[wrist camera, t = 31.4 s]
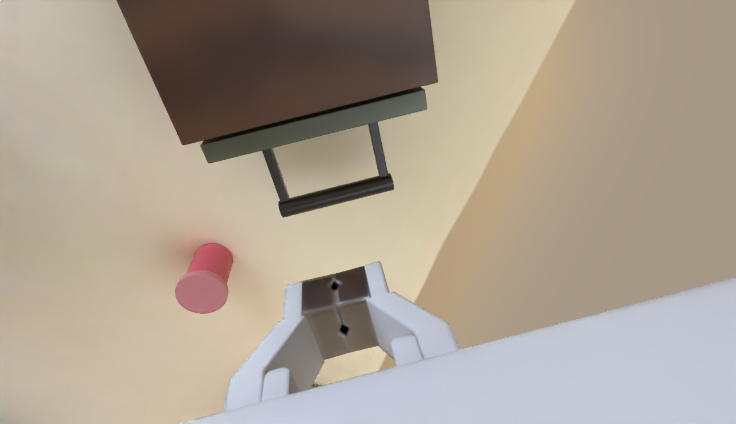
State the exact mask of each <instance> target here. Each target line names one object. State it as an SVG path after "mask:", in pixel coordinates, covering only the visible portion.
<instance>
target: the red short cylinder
mask: <svg viewBox="0 0 736 424" xmlns="http://www.w3.org/2000/svg"><path fill="white" fill-rule="evenodd" d="M232 263H233V256H232V254H231V252H230V251H229V250H228V249H227V248H226V247H224V246H222V245H220V244H214V243H211V244H206V245H203V246H201V247H200V248H199V249H198V250H197V251H196V253H195V256H194V258H193V260H192V263H191V265H190V267H189V269H188V272H187V274H186V275H184V276H183V277H182V278H181V279H180V280H179V282H178V284H177V286H176V290H175V295H176V299H177V301H178V302H179V303H180V305H181V306H183V307H184V308H185V309H187V310H189V311H191V312H195V313H201V314H205V313H211V312H214V311H216V310H218V309H220V308H221V307H222V306H223V305H224V304H225V302H226V300H227V296H228V287H227V281H228V278H229V274H230V271H231V267H232Z"/></svg>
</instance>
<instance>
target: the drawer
mask: <svg viewBox="0 0 736 424" xmlns="http://www.w3.org/2000/svg"><path fill="white" fill-rule="evenodd" d="M426 109H427V103H426V96H425V90H424V89H423V88H421V87H417V88H413V89H409V90H405V91H401V92H397V93H393V94H389V95H385V96H381V97H377V98H373V99H369V100H365V101H361V102H357V103H353V104H349V105H345V106H340V107H336V108H332V109H328V110H324V111H320V112H316V113H312V114H308V115H304V116H300V117H296V118H292V119H288V120H284V121H280V122H276V123H272V124H268V125H264V126H260V127H256V128H252V129H248V130H244V131H240V132H236V133H231V134H227V135H223V136H219V137H215V138H211V139H207V140H204V141H203V142H202V144H201V148H202V150H203V153H204V155H205V157H206V160H207V162H208V163H214V162H218V161H222V160H226V159H230V158H234V157H238V156H242V155H246V154H250V153H254V152H258V151H263V154H264V157H265V160H266V163H267V165H268V168H269V171H270V174H271V177H272V179H273V182H274V185H275V188H276V191H277V193H278V196H279V199H280V201H279V203H278V205H279V210H280V213H281V215H282V217H288V216H292V215H296V214H300V213H304V212H308V211H312V210H316V209H320V208H324V207H327V206H331V205H335V204H339V203H343V202H347V201H351V200H355V199H359V198H363V197H367V196H371V195H375V194H379V193H383V192H387V191H391V190H394V184H393V180H392V177H391V174H390V173H388V171H387V166H386V162H385V157H384V152H383V147H382V142H381V137H380V132H379V127H378V121H382V120H386V119H390V118H394V117H398V116H402V115H406V114H410V113H414V112H418V111H422V110H426ZM366 124H368V127H369V132H370V136H371V141H372V146H373V150H374V155H375V160H376V164H377V169H378V174H379V176H376V177H372V178H368V179H364V180H360V181H356V182H352V183H348V184H344V185H340V186H336V187H332V188H328V189H324V190H321V191H317V192H313V193H309V194H305V195H301V196H297V197H293V198H289V195H288V192H287V189H286V186H285V183H284V180H283V177H282V174H281V171H280V168H279V166H278V163H277V160H276V157H275V154H274V151H273V148H274V147H278V146H282V145H286V144H290V143H294V142H298V141H302V140H306V139H310V138H314V137H318V136H322V135H326V134H330V133H334V132H338V131H342V130H346V129H350V128H354V127H358V126H362V125H366Z"/></svg>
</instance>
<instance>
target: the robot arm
mask: <svg viewBox="0 0 736 424" xmlns="http://www.w3.org/2000/svg"><path fill="white" fill-rule="evenodd" d="M375 346H379V347H380V348H381V349H382V350H383V351H385V352H386V353H387V354H388V355H389V356H390V357H391V358H392V359H393V360H394V361H395V362H396V367H392V368H389V369H385V370H381V371H377V372H373V373H369V374H366V375H362V376H358V377H354V378H350V379H347V380H343V381H339V382H335V383H331V384H328V385H324V386H320V387H316V388H312V389H311V387H312V385H313V383H314V381H315V379H316V377H317V375H318V373H319V371H320V369H321V367H322V365H323V363H324V360H325V359H329V358H332V357H336V356H339V355H343V354H346V353H350V352H353V351H358V350H362V349H366V348H371V347H375ZM179 424H736V277H734V278H731V279H727V280H723V281H719V282H716V283H712V284H708V285H705V286H700V287H697V288H693V289H689V290H686V291H682V292H678V293H674V294H670V295H667V296H663V297H659V298H656V299H651V300H648V301H644V302H640V303H636V304H632V305H629V306H625V307H621V308H617V309H613V310H609V311H605V312H602V313H598V314H594V315H590V316H586V317H583V318H579V319H575V320H571V321H567V322H564V323H560V324H556V325H552V326H548V327H545V328H541V329H537V330H534V331H530V332H525V333H522V334H518V335H514V336H511V337H507V338H503V339H499V340H495V341H492V342H488V343H484V344H480V345H476V346H472V347H468V348H465V349H461V350H460V348H459V346H458V343H457V341H456V339H455V337H454V334H453V332H452V330H451V328H450V325H449V323H447V322H445V321H443V320H442V319H440V318H438V317H437V316H435V315H433V314H432V313H430V312H428V311H426V310H425V309H423V308H421V307H419V306H418V305H416V304H414V303H412V302H411V301H409V300H407V299H406V298H404V297H402V296H400V295H399V294H397V293H395V292H391V293H389V289H388V286H387V282H386V279H385V275H384V272H383V268H382V265H381V262H380V261H378V262H374V263H371V264H368V265H365V267H364V266H362V267H358V268H355V269H351V270H347V271H343V272H340V273H336V274H330V275H326V276H322V277H318V278H313V279H309V280H305V281H301V282H297V283H293V284H289V285H287V286H286V289H285V303H284V316H283V321H279V322H278V323H277V324H276V325H275V327H274V328H273V329H272V330H271V331H270V333H269V334H268V335H267V336H266V337H265V339H264V340H263V341H262V342H261V343H260V345H259V346H258V347H257V348H256V349H255V351H254V352H253V353H252V354H251V355H250V357H249V358H248V359H247V360H246V361H245V363H244V364H243V365H242V366H241V367H240V369H239V370H238V371H237V372H236V373H235V375H234V376H233V377H232V378H231V379H230V383H229V388H228V392H227V397H226V402H225V407H224V412H221V413H217V414H213V415H209V416H205V417H202V418H198V419H194V420H190V421H186V422H183V423H179Z"/></svg>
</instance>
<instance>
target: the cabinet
mask: <svg viewBox="0 0 736 424" xmlns="http://www.w3.org/2000/svg"><path fill="white" fill-rule="evenodd" d="M117 2H118V5H119V7H120V9H121V11H122V13H123V16H124V18H125V20H126V22H127V24H128V27H129V29H130V31H131V33H132V35H133V38H134V40H135V42H136V44H137V46H138V49H139V51H140V53H141V55H142V57H143V60H144V62H145V64H146V66H147V68H148V70H149V73H150V75H151V77H152V79H153V81H154V84H155V86H156V88H157V90H158V92H159V95H160V97H161V99H162V101H163V103H164V106H165V108H166V110H167V112H168V114H169V117H170V119H171V121H172V123H173V125H174V128H175V130H176V132H177V134H178V136H179V139H180V141H181V143H182V145H187V144H191V143H195V142H199V141H203V140H207V139H211V138H215V137H219V136H223V135H227V134H231V133H236V132H240V131H244V130H248V129H252V128H256V127H260V126H264V125H268V124H272V123H276V122H280V121H284V120H288V119H292V118H296V117H300V116H304V115H308V114H312V113H316V112H320V111H324V110H328V109H332V108H336V107H340V106H345V105H349V104H353V103H357V102H361V101H365V100H369V99H373V98H377V97H381V96H385V95H389V94H393V93H397V92H401V91H405V90H409V89H413V88H417V87H421V86H425V85H429V84H433V83H437V82H438V78H437V69H436V61H435V53H434V45H433V37H432V28H431V20H430V12H429V4H428V0H117Z"/></svg>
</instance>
